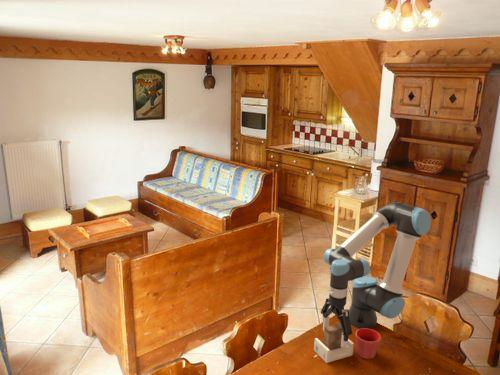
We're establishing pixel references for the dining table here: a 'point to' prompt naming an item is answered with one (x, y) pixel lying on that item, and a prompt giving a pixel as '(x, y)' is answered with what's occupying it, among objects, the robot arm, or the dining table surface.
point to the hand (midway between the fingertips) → (334, 338)
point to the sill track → (333, 351)
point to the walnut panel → (333, 336)
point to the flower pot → (367, 342)
